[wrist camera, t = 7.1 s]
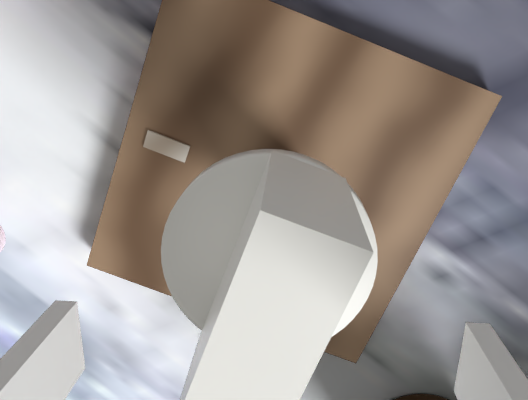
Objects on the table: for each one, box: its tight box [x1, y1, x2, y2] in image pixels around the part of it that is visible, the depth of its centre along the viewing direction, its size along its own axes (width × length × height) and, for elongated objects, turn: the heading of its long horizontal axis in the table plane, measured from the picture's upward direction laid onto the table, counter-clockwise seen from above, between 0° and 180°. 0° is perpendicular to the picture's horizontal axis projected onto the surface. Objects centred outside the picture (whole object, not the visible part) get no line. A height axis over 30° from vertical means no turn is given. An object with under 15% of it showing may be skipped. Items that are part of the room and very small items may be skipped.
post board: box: [87, 0, 502, 363], centre depth 29 cm, size 22×22×12 cm
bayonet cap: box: [161, 149, 378, 400], centre depth 19 cm, size 12×10×9 cm
